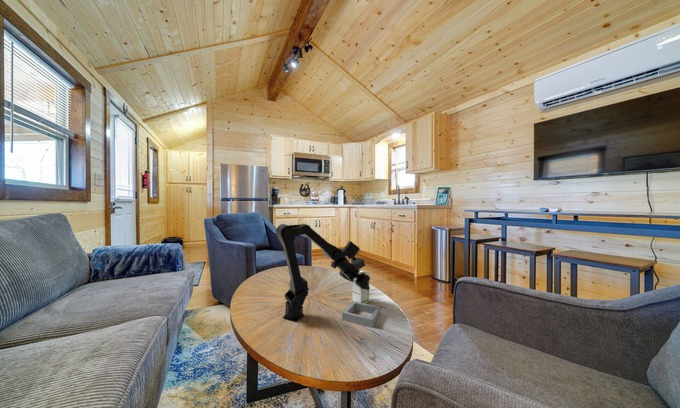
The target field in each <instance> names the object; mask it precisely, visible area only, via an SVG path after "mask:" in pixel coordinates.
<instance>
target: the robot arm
mask: <svg viewBox="0 0 680 408" xmlns="http://www.w3.org/2000/svg"><path fill="white" fill-rule="evenodd" d="M275 233H276V236H277V239H278V241H279V242H280V244H281V245H282V248H283V252H284V256H285V261H286V265H287V270H288V273H289V278H290V280H289V289H288V290H287V291H286V292H285V294H284V299H285V311H284V312H285V313H284V315H283V317H282V318H283V319H286V320H289V321H291V322H297V321H299V320H300V319H301V318H302V317H303V316H304V314H305V313H304V306H303V305H304V303H305V300H306V298H307V297H308V295H309V291H310V288H309V286H308V284H309V283H308V280H306V279H305V278H304V277H303V276H302V274H301V270H300V265H299V262H298V258H297V252H296V249H295V243H296V237H300V236H303V235H304V236H305V237H306V238H308V239H309V240H310V241H311V242H312V243H314V244H315V245H316V246H317V247H318V248H320V250H321V251H322V254H323V255H325V257H326V258H328V259H330V260H332V261H331V263H330V267H331V268H332V269H336V268H338V270H340V271H339V276H340V277H342V278H343V279H344V280H347V281H349V282H352V283H353V279H354V278H356V279H357V280H356V283H355V284H356V285H357V286H358V287H360V288H363V289H366V290H369V291H370V288H371V287H370V284H369V285H368V281H369V282H370V280H371V277H370V275H369V276H368V275H367V274H365V273H361V275H360V274H358V273H359V272H360V271H361V269H362V268H363V267H364V268H365V267H366V262H365V260H364V258H361V257H356V256H357V254H358V253H359V252H360V250H361V248H360V247H359V246H357V245H356V244H355V243H354V242H352V240H351V241H350V240H348V242H347V244H346V245H345V246H344V247H343V248H340V247H337V246H335V245H333V244H332V243H330V242H328V241H327V240H325V238H324V237H323V236H321V235H320V234H319V233H317V232H316V230H315V229H313V228H312V227H311V226H310V225H309V224H307V223H301V224H289V225H288V224H285V223H282V224H279V225H278V226H277V228H275Z"/></svg>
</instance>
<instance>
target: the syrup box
mask: <svg viewBox="0 0 680 408" xmlns="http://www.w3.org/2000/svg"><path fill="white" fill-rule="evenodd" d="M361 273H365V274H367V275H368V276H369V277H370V273H369V272H367V271H364V270H360V272H359V273H358V274H360V275H361ZM356 280H357V279H356V278H354V279H353V282H352V302H353V301H355V302H360V303H364V304H368V303H369V299H370V296H369V295H370V289H369V290H366V289H363V288H360V287H358V286H357V285H356V284H355V283H356ZM368 285H369V286H370V280H369V281H368Z"/></svg>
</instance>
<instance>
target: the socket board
mask: <svg viewBox="0 0 680 408" xmlns="http://www.w3.org/2000/svg"><path fill="white" fill-rule="evenodd" d="M381 309H382V307H381V306H376V305H373V304H368V303H365V304H364V303H360V302H355V301H353V300H352V302H351V303H350V304H349V305H348V306H347V307H346V308H345V309H344V310H343V312H342V313H341V314H342V315H341V316H342V317H341V320H342V321H345V320H346V321H345V322H349V323H354V324H356V323H357V325H360V324H361V326H364V327H369V328H374V326H375V324H376V323H377V320H378V319H379V317H380V315H381V312H382V311H381ZM354 311H361V312H365V313H369V314H371V316H369V317H368V316H365V315H362V314H361V315H360V314H357V313H353V312H354Z"/></svg>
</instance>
